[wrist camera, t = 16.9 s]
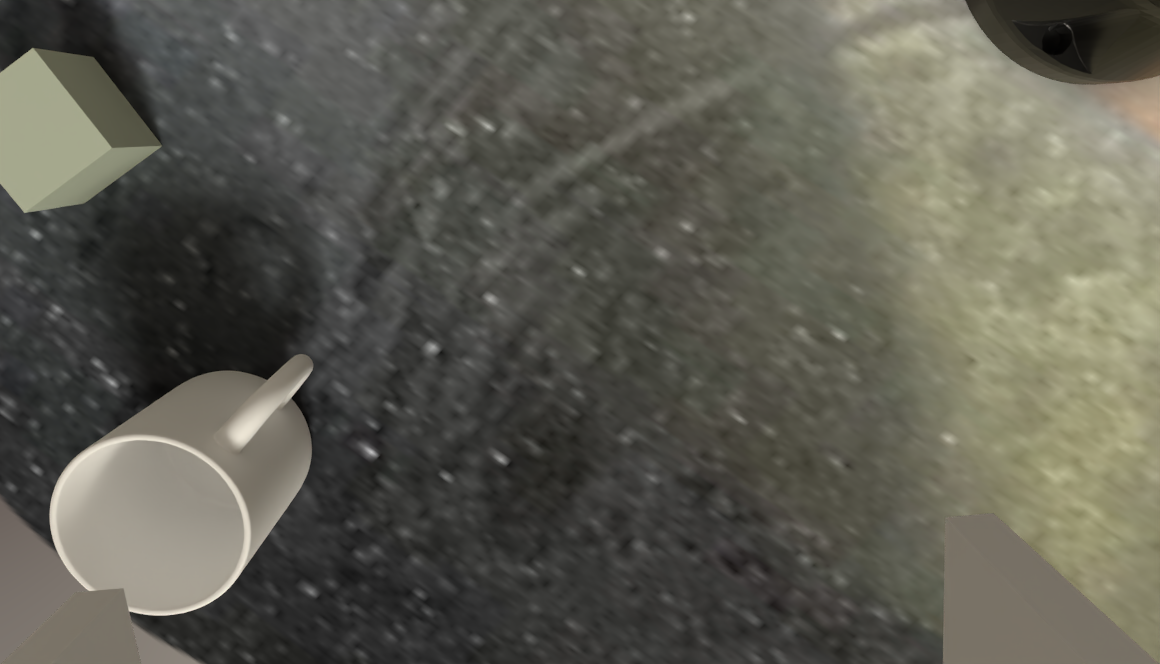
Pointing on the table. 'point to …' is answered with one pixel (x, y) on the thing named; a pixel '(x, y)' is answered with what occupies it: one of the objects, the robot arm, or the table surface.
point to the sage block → (65, 130)
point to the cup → (184, 489)
